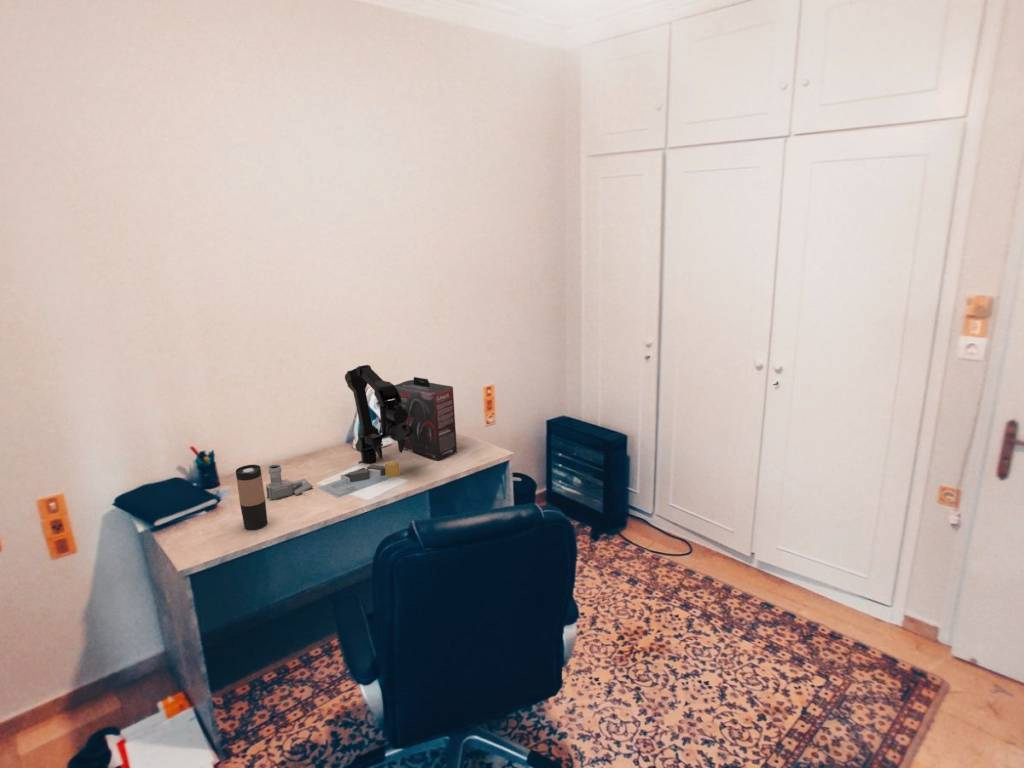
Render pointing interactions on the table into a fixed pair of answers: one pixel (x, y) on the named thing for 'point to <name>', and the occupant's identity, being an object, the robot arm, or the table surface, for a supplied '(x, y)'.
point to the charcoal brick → (358, 475)
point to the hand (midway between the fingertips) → (391, 455)
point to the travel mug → (251, 497)
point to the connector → (392, 469)
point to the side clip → (347, 479)
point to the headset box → (429, 418)
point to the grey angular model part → (283, 484)
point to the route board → (375, 478)
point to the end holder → (343, 491)
